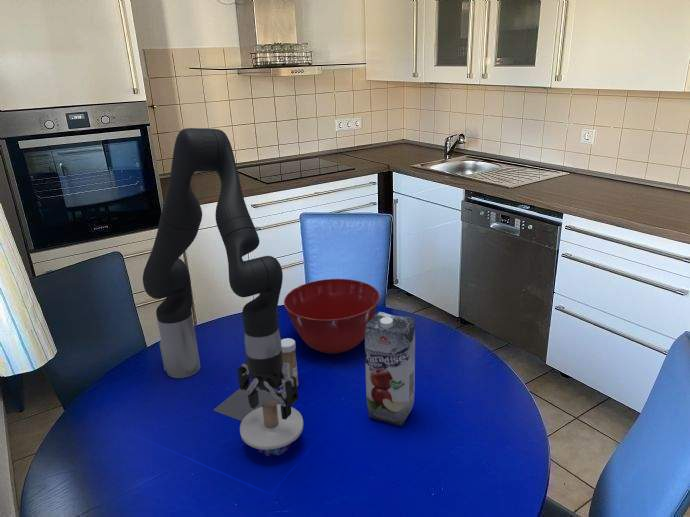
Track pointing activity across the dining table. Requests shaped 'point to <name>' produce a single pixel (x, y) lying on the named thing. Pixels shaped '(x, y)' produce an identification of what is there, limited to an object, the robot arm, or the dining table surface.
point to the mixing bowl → (332, 313)
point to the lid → (270, 427)
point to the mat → (243, 403)
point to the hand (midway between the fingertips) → (270, 411)
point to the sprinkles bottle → (289, 359)
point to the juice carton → (390, 367)
